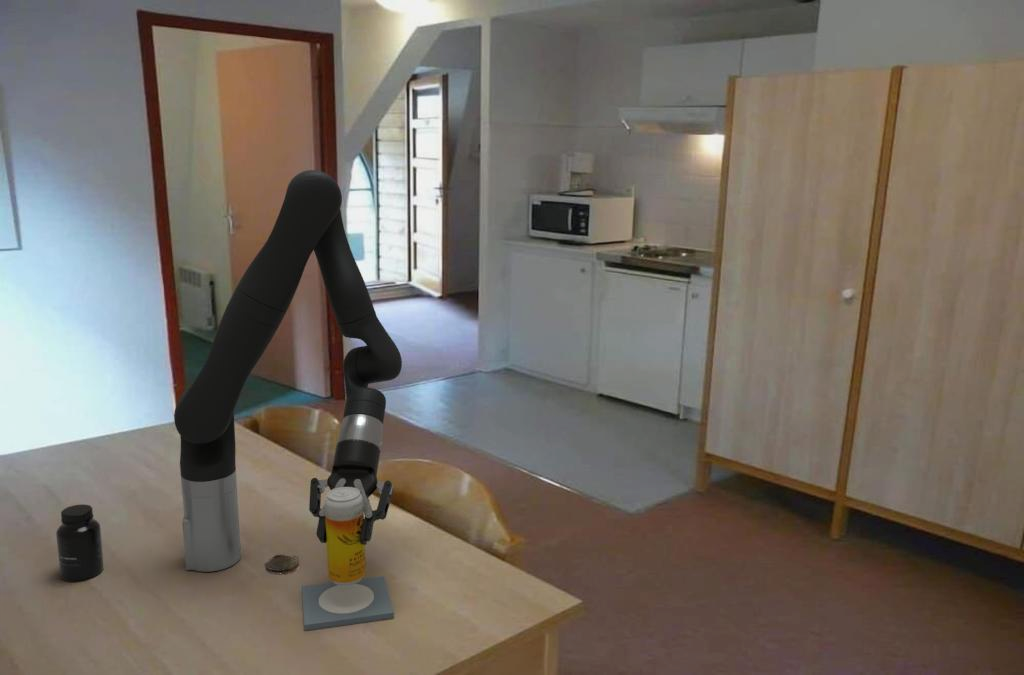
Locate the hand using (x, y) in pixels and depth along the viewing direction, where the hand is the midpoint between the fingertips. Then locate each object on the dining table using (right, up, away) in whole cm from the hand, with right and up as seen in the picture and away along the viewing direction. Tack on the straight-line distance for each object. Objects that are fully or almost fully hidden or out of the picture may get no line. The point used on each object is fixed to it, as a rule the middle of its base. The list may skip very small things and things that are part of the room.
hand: (342, 542), depth 128 cm
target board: (0, -11, +4) cm, 12 cm away
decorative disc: (-14, -9, +16) cm, 24 cm away
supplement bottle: (-49, -9, +13) cm, 51 cm away
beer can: (0, -7, +3) cm, 8 cm away
